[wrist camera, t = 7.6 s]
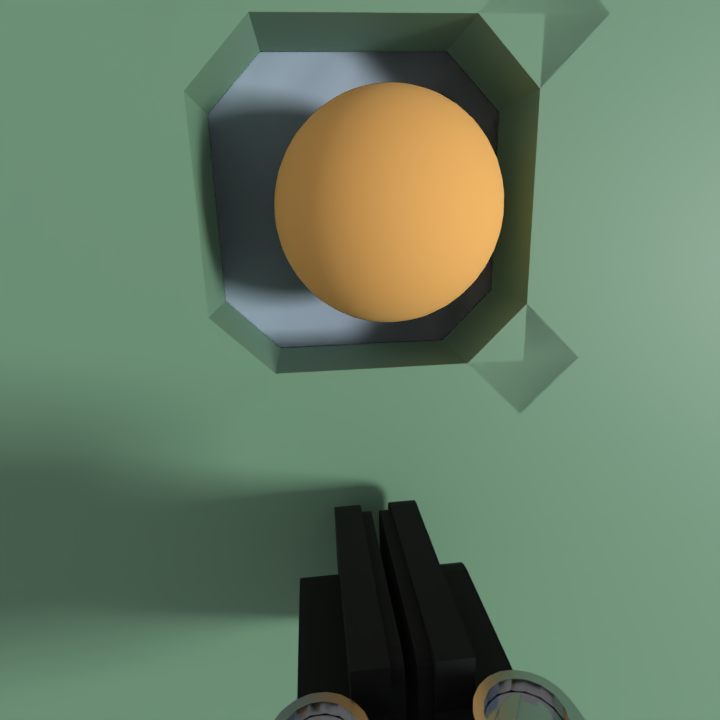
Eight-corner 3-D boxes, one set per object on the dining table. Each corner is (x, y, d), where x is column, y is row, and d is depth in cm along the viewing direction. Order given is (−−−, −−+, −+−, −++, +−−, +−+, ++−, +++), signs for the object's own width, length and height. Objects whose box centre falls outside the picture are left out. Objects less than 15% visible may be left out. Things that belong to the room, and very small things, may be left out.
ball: (453, 177, 12) (480, 342, 11) (278, 184, 11) (288, 356, 10) (517, 18, 8) (569, 252, 7) (255, 21, 8) (269, 269, 6)
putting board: (666, 681, 16) (717, 746, 14) (45, 750, 14) (4, 835, 12) (801, -119, 10) (917, -198, 8) (-185, -150, 9) (-325, -256, 7)
